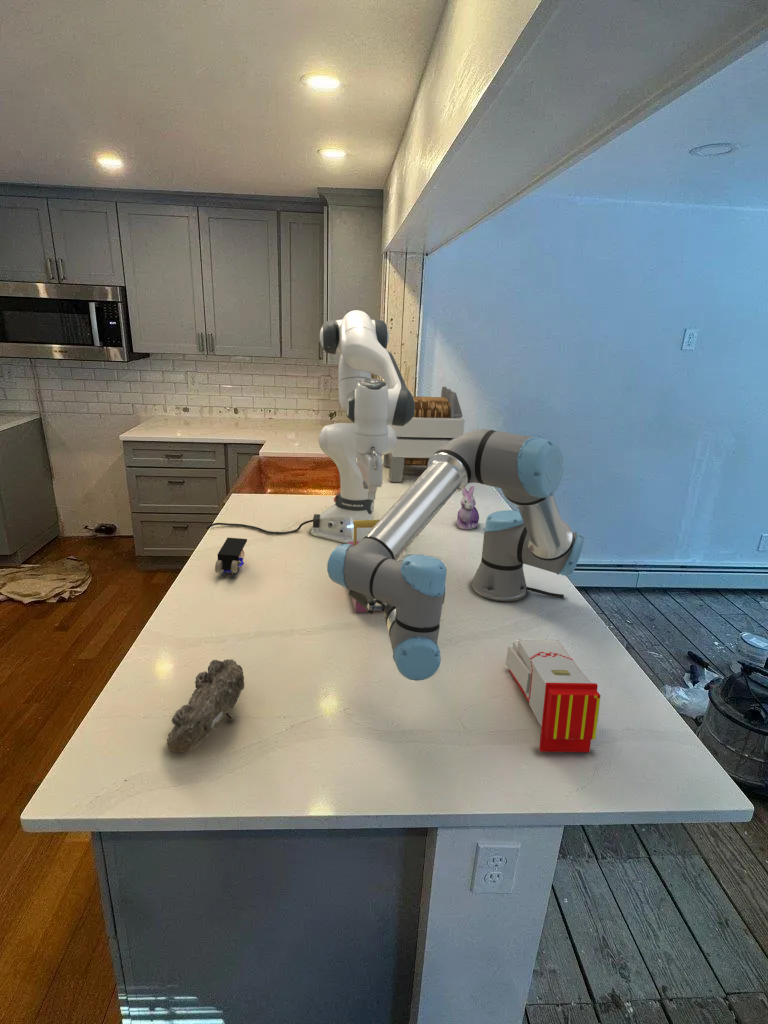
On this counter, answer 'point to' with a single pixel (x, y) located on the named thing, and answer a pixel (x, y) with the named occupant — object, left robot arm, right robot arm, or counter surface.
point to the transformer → (425, 432)
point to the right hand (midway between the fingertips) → (393, 579)
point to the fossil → (206, 705)
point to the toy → (556, 694)
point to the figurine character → (230, 556)
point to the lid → (361, 525)
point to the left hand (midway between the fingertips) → (368, 493)
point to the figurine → (468, 511)
